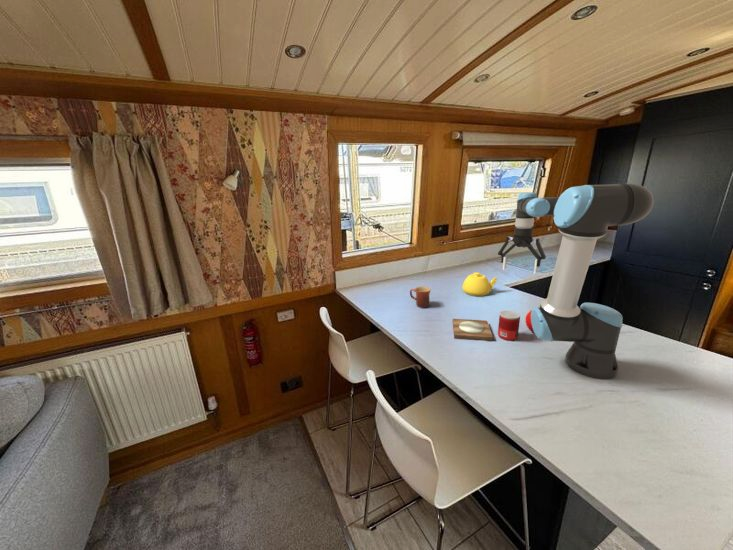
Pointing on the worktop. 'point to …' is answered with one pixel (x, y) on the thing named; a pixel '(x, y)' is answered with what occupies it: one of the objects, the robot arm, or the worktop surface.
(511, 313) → the canned food
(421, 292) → the mug
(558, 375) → the worktop surface
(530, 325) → the tomato
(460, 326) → the board
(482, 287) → the teapot
